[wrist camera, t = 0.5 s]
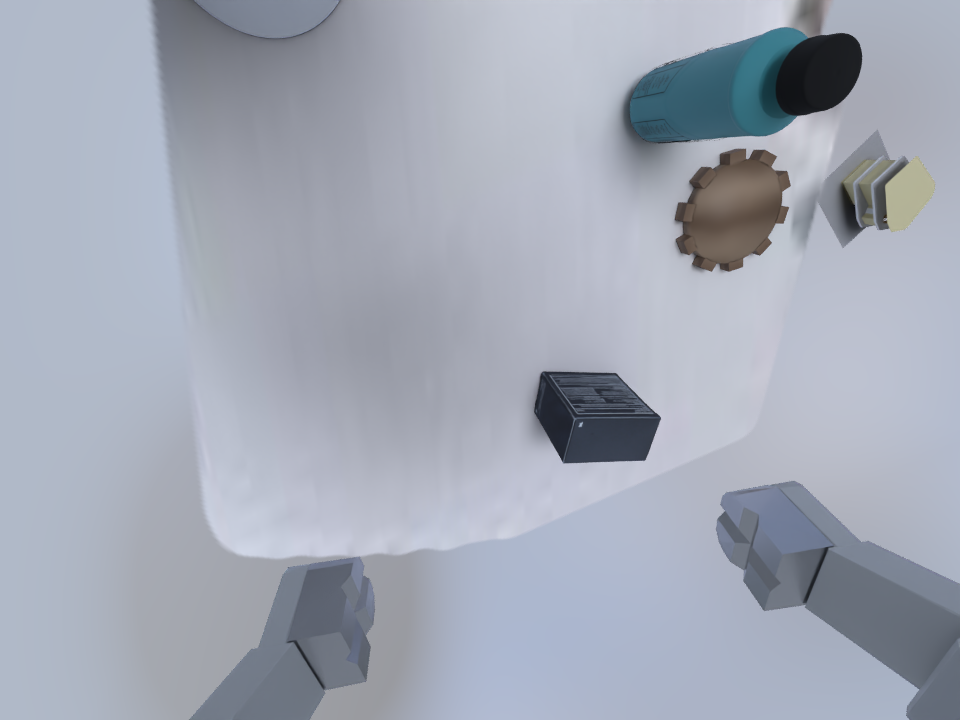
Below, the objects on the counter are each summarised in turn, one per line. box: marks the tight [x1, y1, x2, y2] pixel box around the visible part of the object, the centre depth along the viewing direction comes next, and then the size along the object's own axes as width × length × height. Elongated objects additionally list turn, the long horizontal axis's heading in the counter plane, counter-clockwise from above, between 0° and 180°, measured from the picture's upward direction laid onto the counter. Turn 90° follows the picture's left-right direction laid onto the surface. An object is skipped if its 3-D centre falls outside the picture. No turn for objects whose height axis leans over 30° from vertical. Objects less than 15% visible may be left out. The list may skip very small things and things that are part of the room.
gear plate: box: [675, 149, 791, 272], centre depth 48 cm, size 13×13×2 cm
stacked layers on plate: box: [818, 130, 935, 248], centre depth 49 cm, size 10×9×6 cm
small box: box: [534, 372, 661, 463], centre depth 51 cm, size 11×6×10 cm, turn 83°
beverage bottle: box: [630, 27, 862, 144], centre depth 34 cm, size 6×7×20 cm
